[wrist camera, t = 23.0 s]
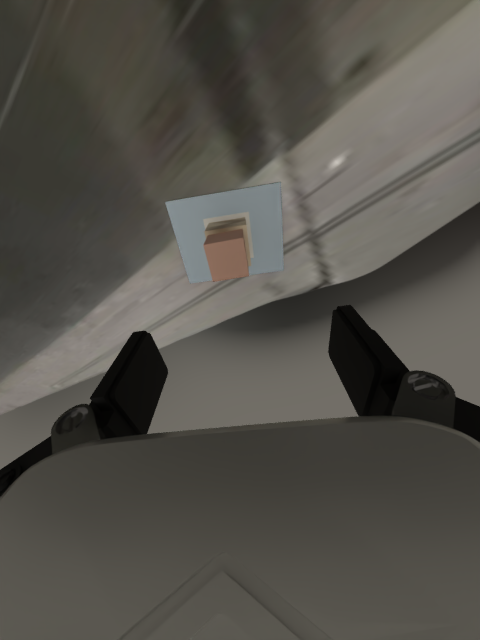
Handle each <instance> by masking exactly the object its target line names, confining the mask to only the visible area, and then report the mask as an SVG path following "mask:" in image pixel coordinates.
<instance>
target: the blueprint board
mask: <svg viewBox="0 0 480 640" xmlns="http://www.w3.org/2000/svg"><path fill="white" fill-rule="evenodd" d="M165 203H166V206H167V210H168V213H169V216H170V219H171V223H172V226H173V229H174V233H175V236H176V239H177V243H178V246H179V249H180V252H181V256H182V259H183V262H184V266H185V269H186V272H187V276H188V279H189V282H190V283H197V282H204V281H212V276H211V273H210V269H209V265H208V261H207V258H206V254H205V250H204V246H203V244H204V242H205V240H206V237H205V233H204V231H205V229H206V227H207V226H208V224H209V223H213V222H219V221H225V220H231V219H237V218H243V217H245V219H246V226H247V234H248V242H249V250H250V258H251V266H248V269H249V275H254V274H261V273H269V272H276V271H283V270H284V261H283V231H282V201H281V182H277V183H272V184H266V185H260V186H254V187H248V188H243V189H237V190H231V191H225V192H219V193H214V194H208V195H202V196H196V197H190V198H184V199H179V200H173V201H167V202H165Z"/></svg>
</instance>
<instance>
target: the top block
mask: <svg viewBox="0 0 480 640" xmlns="http://www.w3.org/2000/svg"><path fill="white" fill-rule="evenodd" d="M203 246H204V250H205V254H206V258H207V261H208V265H209V269H210V273H211V276H212V280H213V282H215V281H221V280H227V279H233V278H240V277H246V276H249V269H248V261H247V254H246V248H245V241H244V235H243V229H238V230H233V231H228V232H222V233H217V234H211V235H208V236H207V238H206V240H205V242H204V244H203Z"/></svg>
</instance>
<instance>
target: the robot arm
mask: <svg viewBox="0 0 480 640" xmlns="http://www.w3.org/2000/svg"><path fill="white" fill-rule="evenodd" d="M328 352H329V356H330V359H331V361H332V363H333V365H334V367H335V369H336V371H337V373H338V375H339V377H340V379H341V381H342V383H343V385H344V387H345V389H346V391H347V393H348V395H349V398H350V400H351V402H352V404H353V406H354V408H355V410H356V412H357V414H358V415H359V417H344V418H328V419H315V420H303V421H291V422H278V423H266V424H254V425H243V426H231V427H220V428H209V429H197V430H186V431H176V432H164V433H153V434H147V432H148V429H149V426H150V424H151V420H152V418H153V415H154V412H155V409H156V406H157V404H158V400H159V398H160V395H161V392H162V389H163V386H164V383H165V381H166V378H167V374H168V369H167V367H166V365H165V363H164V361H163V358H162V356H161V354H160V352H159V350H158V348H157V346H156V344H155V342H154V340H153V338H152V336H151V334H150V333H147V332H146V331H138V332H133V333H132V335H131V336H130V338H129V339H128V341H127V342H126V344H125V345H124V347H123V348H122V350H121V351H120V353H119V354H118V356H117V358H116V359H115V361H114V362H113V364H112V365H111V367H110V368H109V370H108V371H107V373H106V374H105V376H104V377H103V379H102V381H101V382H100V384H99V385H98V387H97V388H96V390H95V391H94V393H93V394H92V396H91V397H90V399H91V400H92V401H91V403H90V404H89V405H88V404H80V405H76V406H74V407H72V408H70V409H69V410H67V411H66V412H64V413H63V414H62V415H61V416H60V417H59V418H58V419H57V420H56V422H55V423H54V425H53V427H52V429H51V436H50V437H49V438H47V439H46V440H44V441H43V442H41V443H40V444H38V445H37V446H35V447H34V448H32V449H31V450H29V451H28V452H26V453H25V454H23V455H22V456H20V457H19V458H17V459H16V460H14V461H13V462H11V463H10V464H8V465H7V466H5V467H4V468H2V469H1V470H0V640H480V407H479V406H477V405H474V404H472V403H469V402H467V401H464V400H462V399H459V398H457V397H456V396H455V391H454V389H453V388H452V386H451V385H450V384H449V383H448V382H447V381H445V380H444V379H442V378H441V377H439V376H437V375H435V374H432V373H429V372H425V371H417V370H416V371H409V370H408V368H407V367H406V366H405V365H404V364H403V363H402V361H401V360H400V359H399V358H398V357H397V356H396V355H395V353H394V352H393V351H392V350H391V349H390V348H389V346H388V345H387V344H386V343H385V342H384V341H383V339H382V338H381V337H380V336H379V335H378V334H377V333H376V331H374V330H372V329H371V328H370V327H369V326H368V325H367V324H366V322H365V321H364V320H363V319H362V318H361V316H360V315H359V314H358V313H357V312H356V310H355V309H354V308H353V307H352V306H351V305H346V306H338V307H337V309H336V310H333V316H332V324H331V332H330V341H329V351H328Z"/></svg>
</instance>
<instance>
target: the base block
mask: <svg viewBox="0 0 480 640" xmlns="http://www.w3.org/2000/svg"><path fill="white" fill-rule="evenodd" d="M238 229H243V235H244V241H245V248H246V254H247V261H248V266H251V258H250V250H249V242H248V234H247V226H246V219H245V217H243V218H237V219H231V220H225V221H219V222H213V223H209V224H208V226H207V227H206V229H205V231H204V233H205V237H206V238H207V236H208V235H211V234H217V233H222V232H228V231H233V230H238Z"/></svg>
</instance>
